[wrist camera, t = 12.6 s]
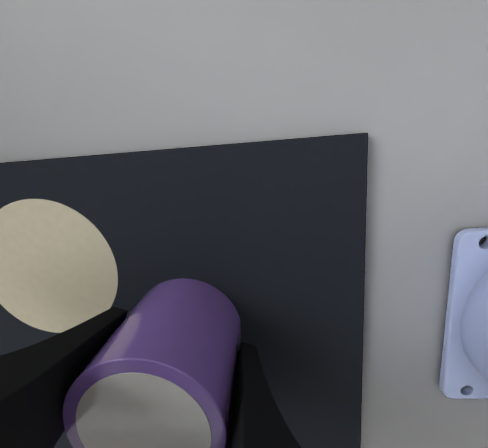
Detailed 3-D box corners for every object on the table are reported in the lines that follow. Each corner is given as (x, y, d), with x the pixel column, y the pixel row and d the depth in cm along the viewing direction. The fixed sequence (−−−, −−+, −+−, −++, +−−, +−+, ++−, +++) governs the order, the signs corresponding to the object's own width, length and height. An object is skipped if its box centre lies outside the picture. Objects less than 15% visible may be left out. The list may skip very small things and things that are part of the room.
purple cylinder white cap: (236, 275, 13) (217, 357, 8) (245, 371, 14) (233, 496, 9) (127, 280, 13) (42, 360, 8) (145, 373, 15) (80, 492, 10)
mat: (365, 132, 11) (368, 132, 11) (354, 603, 18) (356, 613, 18) (-75, 169, 13) (-86, 170, 13) (67, 586, 20) (63, 595, 20)
